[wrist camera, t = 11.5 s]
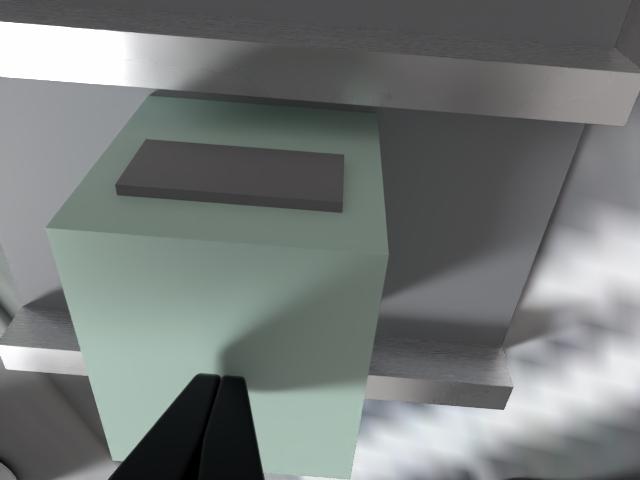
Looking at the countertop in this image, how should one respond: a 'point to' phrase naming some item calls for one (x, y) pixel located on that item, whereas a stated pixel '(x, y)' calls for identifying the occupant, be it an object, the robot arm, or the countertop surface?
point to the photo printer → (6, 473)
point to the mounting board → (332, 94)
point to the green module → (231, 270)
